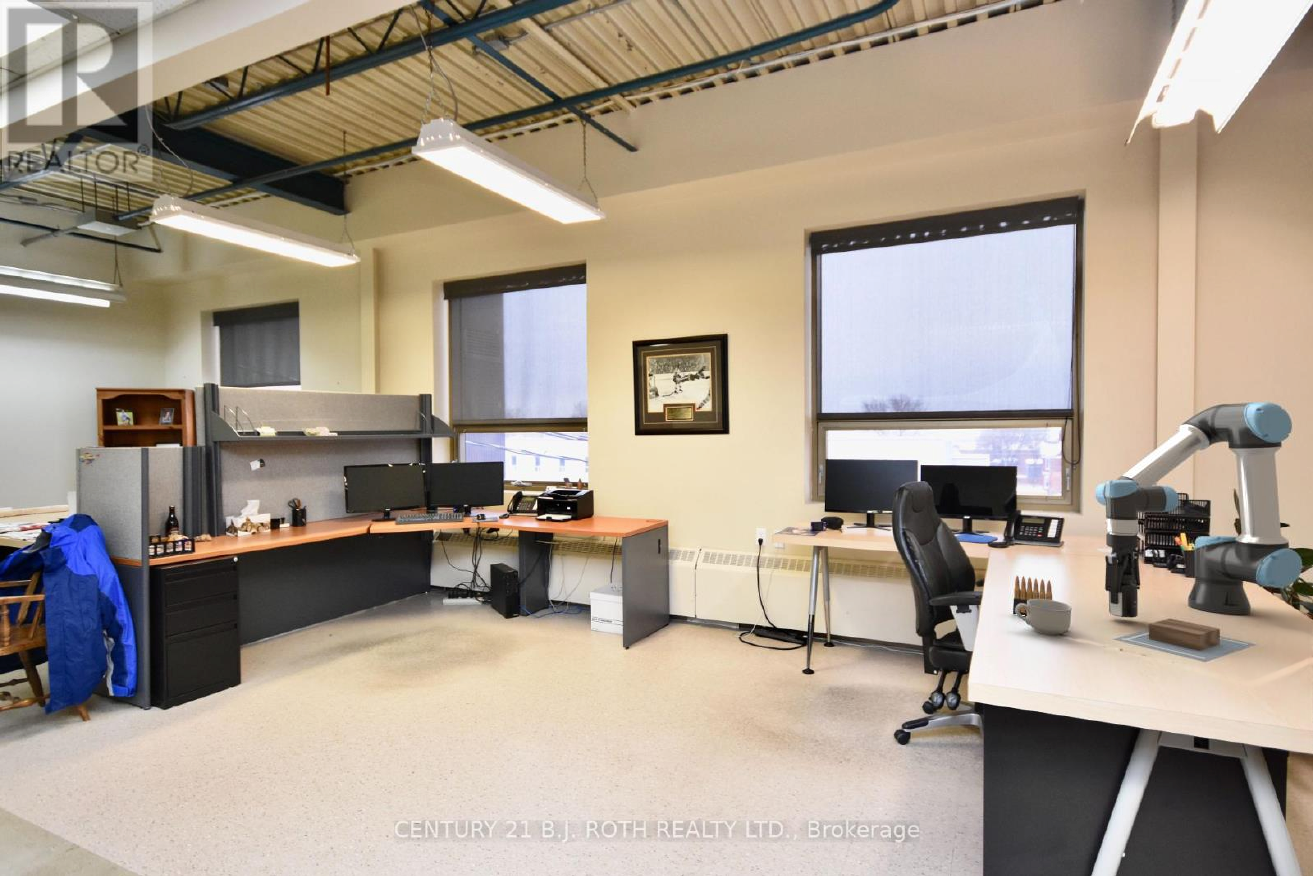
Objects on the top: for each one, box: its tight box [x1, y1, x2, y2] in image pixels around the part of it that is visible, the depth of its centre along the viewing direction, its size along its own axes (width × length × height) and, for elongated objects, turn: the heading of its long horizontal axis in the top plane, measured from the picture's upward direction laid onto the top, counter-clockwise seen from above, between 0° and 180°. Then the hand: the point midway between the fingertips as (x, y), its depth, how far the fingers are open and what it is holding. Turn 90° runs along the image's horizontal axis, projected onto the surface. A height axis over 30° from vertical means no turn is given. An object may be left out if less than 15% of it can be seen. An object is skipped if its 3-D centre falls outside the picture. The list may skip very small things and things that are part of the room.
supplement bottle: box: [1108, 572, 1139, 618], centre depth 190 cm, size 7×7×12 cm
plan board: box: [1112, 629, 1257, 663], centre depth 170 cm, size 28×20×1 cm
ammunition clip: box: [1012, 575, 1053, 616], centre depth 197 cm, size 11×2×12 cm, turn 41°
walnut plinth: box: [1148, 618, 1221, 651], centre depth 170 cm, size 11×11×4 cm
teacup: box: [1015, 599, 1073, 636], centre depth 183 cm, size 14×11×8 cm
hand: (1123, 612), depth 190 cm, fingers closed on supplement bottle, 7 cm apart
